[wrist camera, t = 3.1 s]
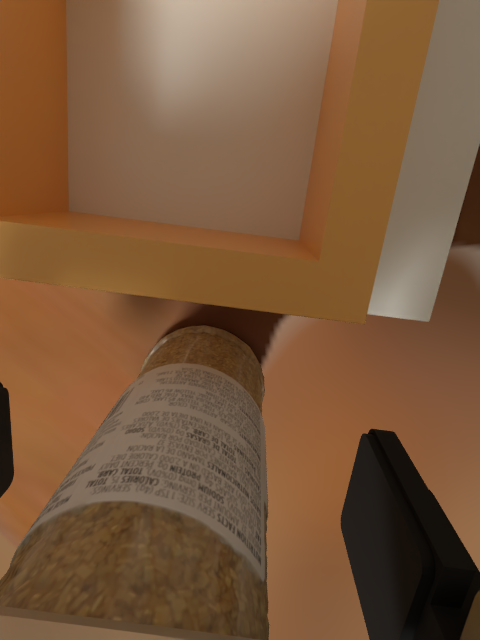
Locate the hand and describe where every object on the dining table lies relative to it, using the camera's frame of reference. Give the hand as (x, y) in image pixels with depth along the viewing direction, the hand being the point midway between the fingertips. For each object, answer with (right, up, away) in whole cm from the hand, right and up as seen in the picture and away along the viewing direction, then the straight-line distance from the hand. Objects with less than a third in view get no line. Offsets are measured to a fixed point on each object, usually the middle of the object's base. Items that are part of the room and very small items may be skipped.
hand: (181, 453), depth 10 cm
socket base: (0, +10, +1) cm, 10 cm away
